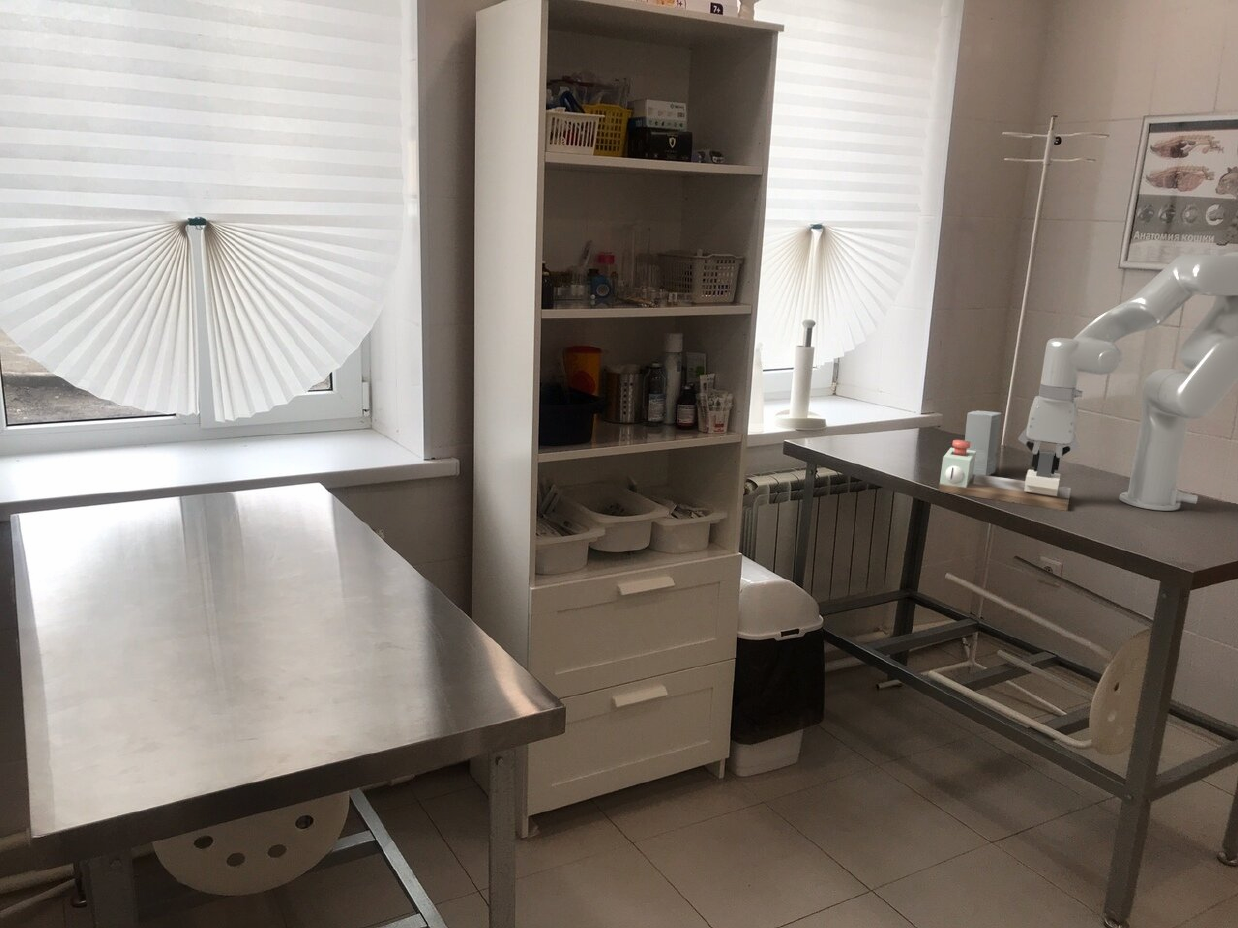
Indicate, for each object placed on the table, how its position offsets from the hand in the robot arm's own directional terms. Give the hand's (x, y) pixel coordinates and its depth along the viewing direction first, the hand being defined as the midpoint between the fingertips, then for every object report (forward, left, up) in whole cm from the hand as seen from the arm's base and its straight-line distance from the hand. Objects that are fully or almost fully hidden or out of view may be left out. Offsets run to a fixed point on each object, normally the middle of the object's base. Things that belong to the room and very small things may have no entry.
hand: (1044, 470), depth 229 cm
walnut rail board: (+8, 0, -7) cm, 10 cm away
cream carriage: (0, 0, -5) cm, 5 cm away
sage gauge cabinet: (+19, 0, -5) cm, 20 cm away
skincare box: (+16, -18, -7) cm, 25 cm away
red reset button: (+19, 0, +1) cm, 19 cm away
